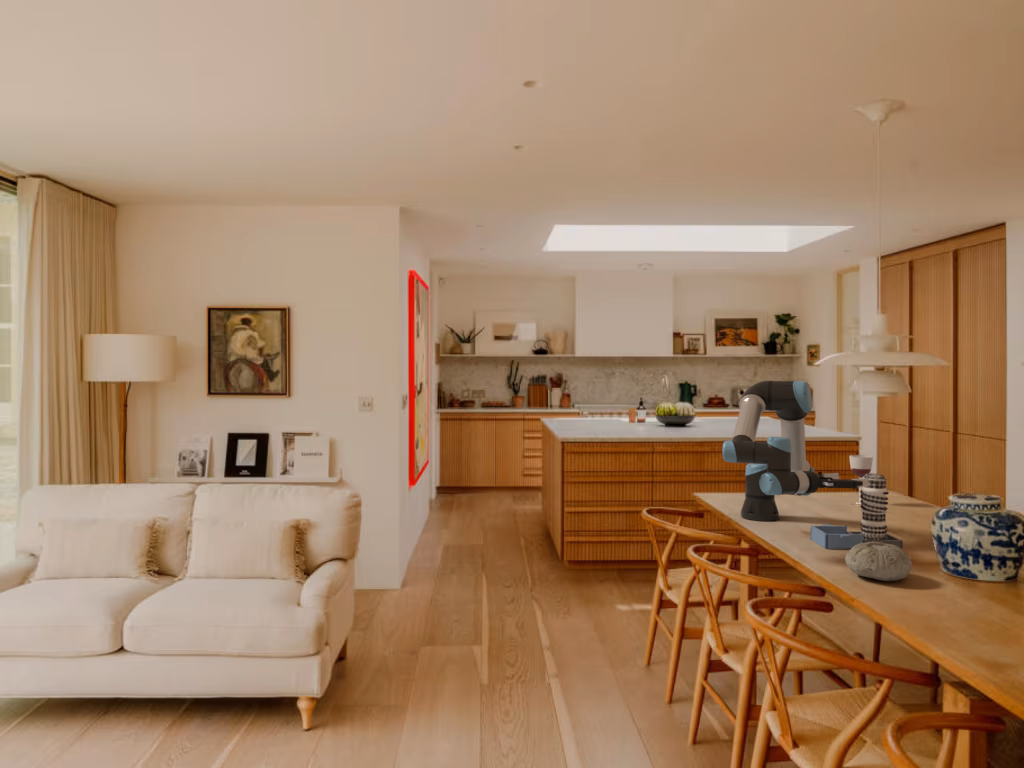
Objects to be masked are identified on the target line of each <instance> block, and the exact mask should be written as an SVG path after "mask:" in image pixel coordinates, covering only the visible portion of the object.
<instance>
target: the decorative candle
mask: <svg viewBox="0 0 1024 768" xmlns="http://www.w3.org/2000/svg"><path fill="white" fill-rule="evenodd" d="M866 478H867V479H869V483H868V487H862V490H860V489H859V495H860V493H861V495H860V497H861V501H860V503H861V506H859V507H860V508H861V509H860V511H861V515H862V516H861V523H860V526H861V527H860V531H862V532H861V533H860V534H863V539H864V540H886V538H887V535H886V534H885V533H888V530H887V529H888V526H887V520H886V519H887V517H886V516H887V515H886V514H888V511H887V510H889V509H888V507H887V505H888V504H889V502H888V500H889V498H888V497H887V496H888V495H889V494H890V492H889V491H887V489H888V488H887V481H888V478H886V477H885V476H884V475H883V474H881V473H871V472H870V473H869V474H866V475H865V476H863V477H862V479H866Z"/></svg>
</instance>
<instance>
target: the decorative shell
mask: <svg viewBox="0 0 1024 768" xmlns="http://www.w3.org/2000/svg"><path fill="white" fill-rule="evenodd" d="M844 561H845V564H846V566H847V567H848V568H849V569H850V570H851V572H852V573H854V574H856V575H857V576H861V577H866V578H869V579H870V578H871V579H873V580H877V581H881V582H894V581H895V582H896V581H899V580H903V579H904V578H906V577H908V576H909V574H910V573H911V571H912V563H913V561H912V559H911V558H910V556H909V555H908V552H907V551H905V550H904V549H901V548H900V547H898V546H896V545H893V544H892V545H890V544H885V543H882V542H874V541H872V542H867V543H860V544H857V545H855V546H854V547H852V548H851V549H848V550H847V553H846V554H845V558H844Z"/></svg>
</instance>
